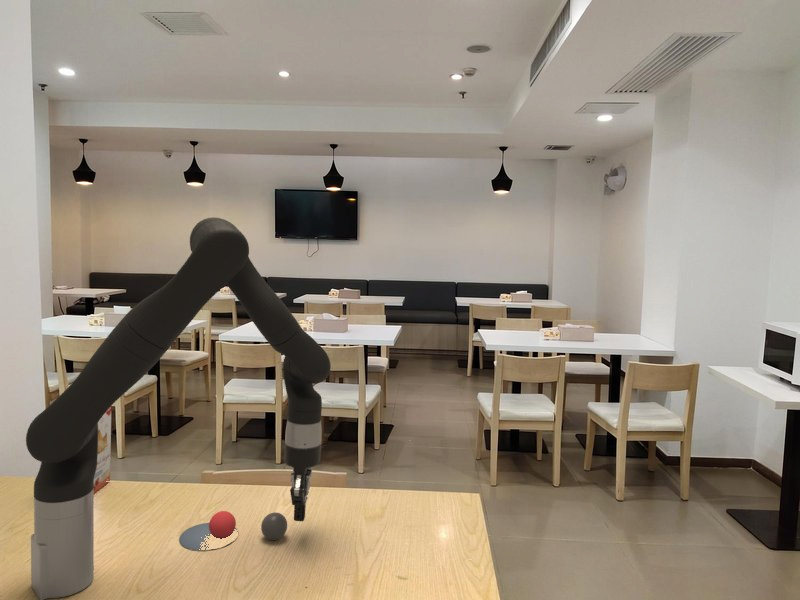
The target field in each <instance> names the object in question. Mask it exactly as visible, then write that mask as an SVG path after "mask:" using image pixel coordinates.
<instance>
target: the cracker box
mask: <svg viewBox="0 0 800 600" xmlns="http://www.w3.org/2000/svg"><path fill="white" fill-rule="evenodd" d="M112 406H113V405H112ZM112 406H111V407H110V408H109V409H108V410H107V411H106V413H105V414H104V415H103V416H102V418H101V419H100V420H99V422H98V455H97V468H96V472H95V476H94V494H96V493H98V492H99V491H100V490H101V489H102V488H104V487H105V486H106V485H108V484H109V483H110V482H111V449H112V448H111V447H112V446H111V444H112V442H111V441H112V440H111V439H112V437H111V435H112ZM106 481H110V482H106Z"/></svg>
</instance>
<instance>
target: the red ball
mask: <svg viewBox="0 0 800 600" xmlns="http://www.w3.org/2000/svg"><path fill="white" fill-rule="evenodd" d="M208 523H209V530H210V533H211V534H212V535H213V536H214V537H216V538H220V539H222V538H226V537H228V536H230V535H231V534H232V533H233V531H234V529H235V528H236V526H237V523H236V518H235V515H233V513H231V512H230V511H227V510H221V511H220V510H219V511H217V512H216V513H215V514H213V515H212V517H210V520H209V522H208Z"/></svg>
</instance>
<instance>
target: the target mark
mask: <svg viewBox="0 0 800 600" xmlns="http://www.w3.org/2000/svg"><path fill="white" fill-rule="evenodd" d="M235 529H236V530H238V529H237V528H236V527H235ZM234 531H235V530H234ZM237 532H238V533H239V531H237ZM208 534H209V535H208ZM210 534H211V533H210V530H209V522H204V523H200V524H196V525H193V526H191V527H188V528H186V529H185V530H183V532H182V533H181V534H180V535H179V540H178V541H179V544H180V546H181V547H183V548H185V549H187V550H189V549H192V550H191V551H194V550H199V549H200V550H201V548H202V547H203V546H202V547H201V545H202V544H203V543H202V544H201V542H205V540H206V539H205V540H204V538H206V536H210ZM205 535H206V536H205ZM201 537H202V538H201ZM207 538H208V537H207ZM208 539H209V538H208ZM206 542H207V541H206ZM206 542H205V544H206ZM200 544H201V545H200ZM206 545H207V544H206ZM206 545H204V547H206ZM208 545H209V544H208ZM200 547H201V548H200ZM207 547H208V546H207ZM207 547H206V548H207ZM206 548H205V550H206ZM208 548H209V547H208Z"/></svg>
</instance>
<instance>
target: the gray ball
mask: <svg viewBox="0 0 800 600" xmlns="http://www.w3.org/2000/svg"><path fill="white" fill-rule="evenodd" d="M262 519H263V520H262V521H261V525H260V526H261V527H260V529H261V534H262V535H263V536H264V537H265V538H266V539H267V540H270V541H276V539H277V540H279V539H281V538H282V537H284V536H285V534H286V532H287V529H288V521H287V518H286V517H285V516H284V515H283V514H282V513H280V512H275V511H274V512H270V513H269V514H266V516H265V517H264V518H262Z"/></svg>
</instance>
